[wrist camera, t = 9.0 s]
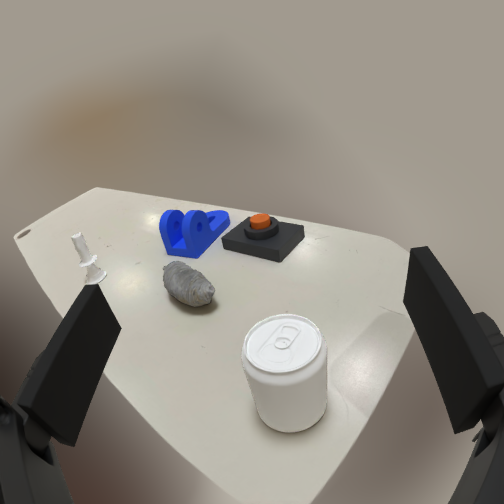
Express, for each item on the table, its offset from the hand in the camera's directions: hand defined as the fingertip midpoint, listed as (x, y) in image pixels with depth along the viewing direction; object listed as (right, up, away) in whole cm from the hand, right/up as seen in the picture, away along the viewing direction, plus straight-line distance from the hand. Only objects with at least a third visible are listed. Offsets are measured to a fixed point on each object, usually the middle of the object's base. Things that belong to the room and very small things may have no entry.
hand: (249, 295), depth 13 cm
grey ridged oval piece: (-11, -6, +43) cm, 45 cm away
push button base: (+3, +4, +54) cm, 55 cm away
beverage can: (+5, -16, +22) cm, 28 cm away
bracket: (-11, +5, +62) cm, 63 cm away
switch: (+2, +7, +52) cm, 53 cm away
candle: (-36, -4, +54) cm, 65 cm away
